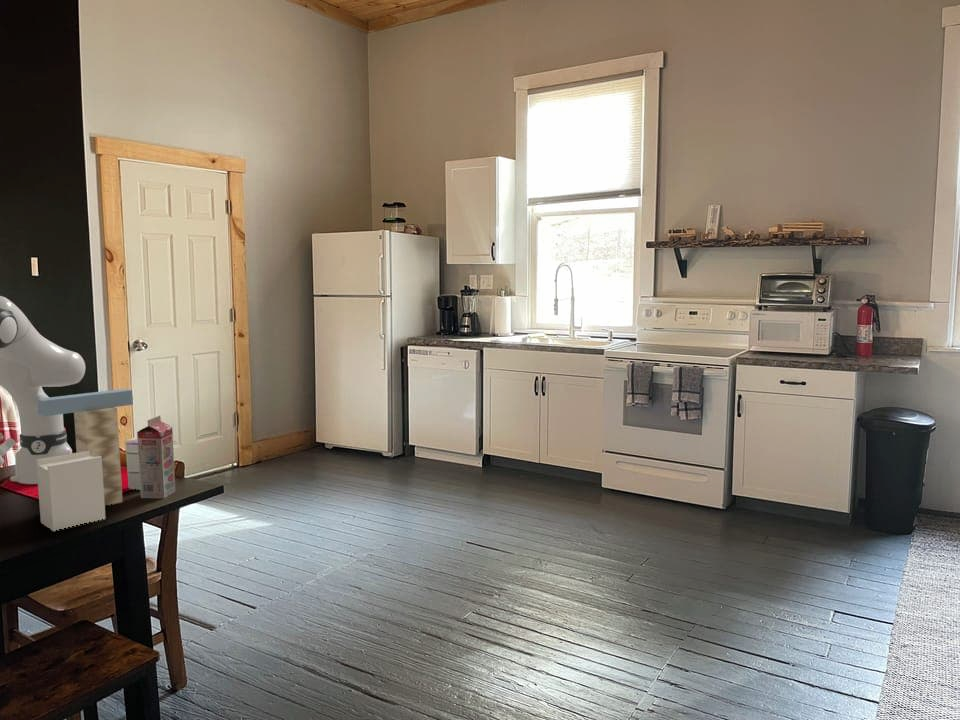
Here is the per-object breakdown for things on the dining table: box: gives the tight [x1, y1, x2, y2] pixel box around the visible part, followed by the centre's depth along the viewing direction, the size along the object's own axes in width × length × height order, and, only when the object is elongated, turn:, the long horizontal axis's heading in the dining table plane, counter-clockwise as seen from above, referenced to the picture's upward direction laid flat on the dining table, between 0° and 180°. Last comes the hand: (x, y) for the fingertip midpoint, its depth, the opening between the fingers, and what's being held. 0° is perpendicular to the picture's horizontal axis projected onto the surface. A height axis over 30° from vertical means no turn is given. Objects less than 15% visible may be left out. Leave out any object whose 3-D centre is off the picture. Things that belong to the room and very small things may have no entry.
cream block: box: [36, 451, 106, 532], centre depth 183 cm, size 12×9×16 cm
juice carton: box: [136, 415, 176, 499], centre depth 204 cm, size 7×7×22 cm
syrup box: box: [124, 436, 140, 491], centre depth 211 cm, size 6×6×14 cm
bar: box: [37, 388, 134, 416], centre depth 193 cm, size 22×4×4 cm, turn 138°
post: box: [73, 407, 123, 507], centre depth 197 cm, size 8×8×26 cm
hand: (7, 437), depth 180 cm, fingers open, 8 cm apart
